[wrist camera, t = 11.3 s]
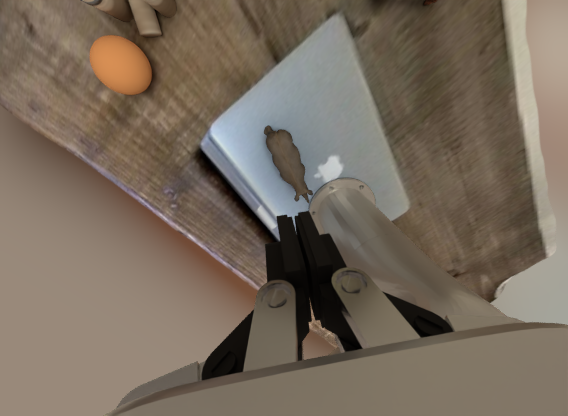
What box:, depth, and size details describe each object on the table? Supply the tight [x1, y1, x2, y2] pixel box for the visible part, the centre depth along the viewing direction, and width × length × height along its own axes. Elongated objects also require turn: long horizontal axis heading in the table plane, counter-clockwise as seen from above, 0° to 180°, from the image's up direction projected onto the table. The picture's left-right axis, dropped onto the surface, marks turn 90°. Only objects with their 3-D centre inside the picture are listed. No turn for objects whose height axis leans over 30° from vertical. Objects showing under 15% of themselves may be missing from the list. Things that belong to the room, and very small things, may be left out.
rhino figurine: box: [264, 126, 313, 203], centre depth 35 cm, size 4×14×6 cm, turn 24°
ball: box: [90, 35, 152, 95], centre depth 27 cm, size 6×6×6 cm
